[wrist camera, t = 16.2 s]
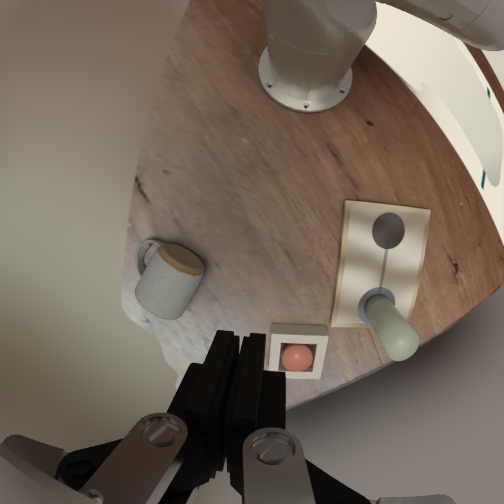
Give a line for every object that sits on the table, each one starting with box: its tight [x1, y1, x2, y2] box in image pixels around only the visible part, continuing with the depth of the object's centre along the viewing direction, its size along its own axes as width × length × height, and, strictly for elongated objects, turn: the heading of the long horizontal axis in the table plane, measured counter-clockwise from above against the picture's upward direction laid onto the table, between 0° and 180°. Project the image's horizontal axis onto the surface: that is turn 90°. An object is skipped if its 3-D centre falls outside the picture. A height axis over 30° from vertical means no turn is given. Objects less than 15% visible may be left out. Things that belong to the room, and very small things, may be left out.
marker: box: [364, 293, 419, 361], centre depth 32 cm, size 4×4×11 cm
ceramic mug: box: [135, 239, 204, 320], centre depth 37 cm, size 11×8×8 cm
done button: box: [282, 343, 313, 372], centre depth 39 cm, size 4×4×2 cm
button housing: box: [269, 323, 328, 379], centre depth 40 cm, size 8×8×3 cm
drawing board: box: [329, 200, 430, 327], centre depth 37 cm, size 18×13×1 cm
